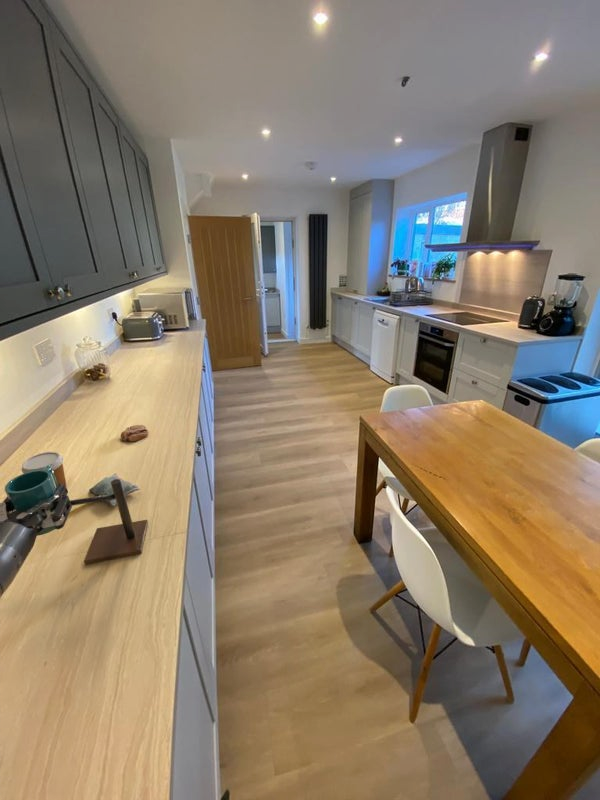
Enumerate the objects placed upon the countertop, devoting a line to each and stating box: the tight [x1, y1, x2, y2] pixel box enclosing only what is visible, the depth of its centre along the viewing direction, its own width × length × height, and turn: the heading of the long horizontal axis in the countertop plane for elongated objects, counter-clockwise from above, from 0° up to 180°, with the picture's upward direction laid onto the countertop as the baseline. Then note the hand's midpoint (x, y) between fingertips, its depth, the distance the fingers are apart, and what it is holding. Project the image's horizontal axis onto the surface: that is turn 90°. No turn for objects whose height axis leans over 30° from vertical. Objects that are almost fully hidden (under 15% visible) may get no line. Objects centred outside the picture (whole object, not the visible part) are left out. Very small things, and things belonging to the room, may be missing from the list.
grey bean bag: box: [88, 473, 141, 507], centre depth 94 cm, size 9×12×5 cm
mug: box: [4, 465, 58, 537], centre depth 62 cm, size 11×7×10 cm, turn 15°
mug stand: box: [69, 479, 149, 565], centre depth 76 cm, size 15×10×18 cm, turn 105°
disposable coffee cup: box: [21, 451, 67, 486], centre depth 93 cm, size 10×10×12 cm
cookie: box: [120, 424, 149, 442], centre depth 126 cm, size 10×11×3 cm
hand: (41, 490), depth 62 cm, fingers closed on mug, 6 cm apart
